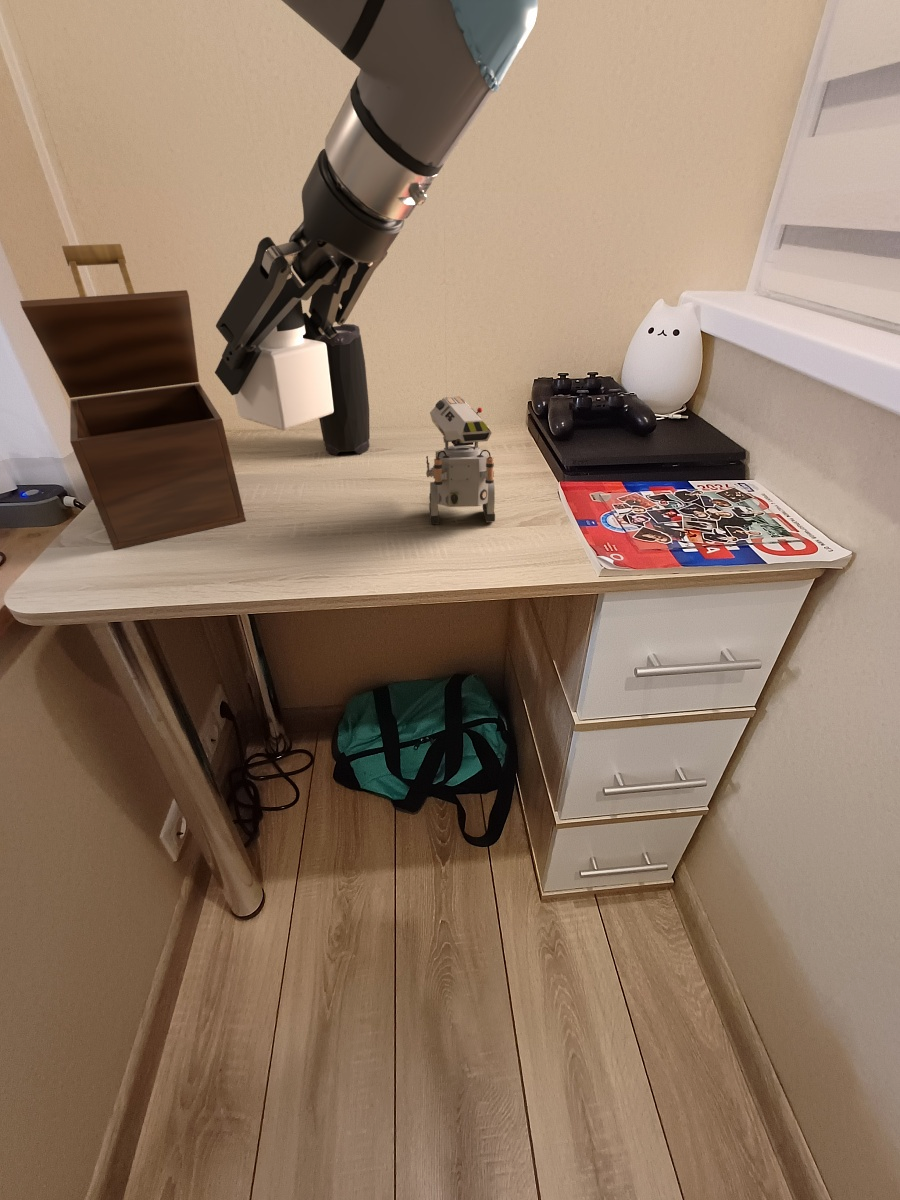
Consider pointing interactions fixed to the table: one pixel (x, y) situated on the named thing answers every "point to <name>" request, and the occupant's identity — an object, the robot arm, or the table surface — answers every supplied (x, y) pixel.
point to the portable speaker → (346, 393)
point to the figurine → (461, 460)
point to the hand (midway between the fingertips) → (257, 373)
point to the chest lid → (114, 332)
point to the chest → (155, 463)
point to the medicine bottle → (287, 378)
